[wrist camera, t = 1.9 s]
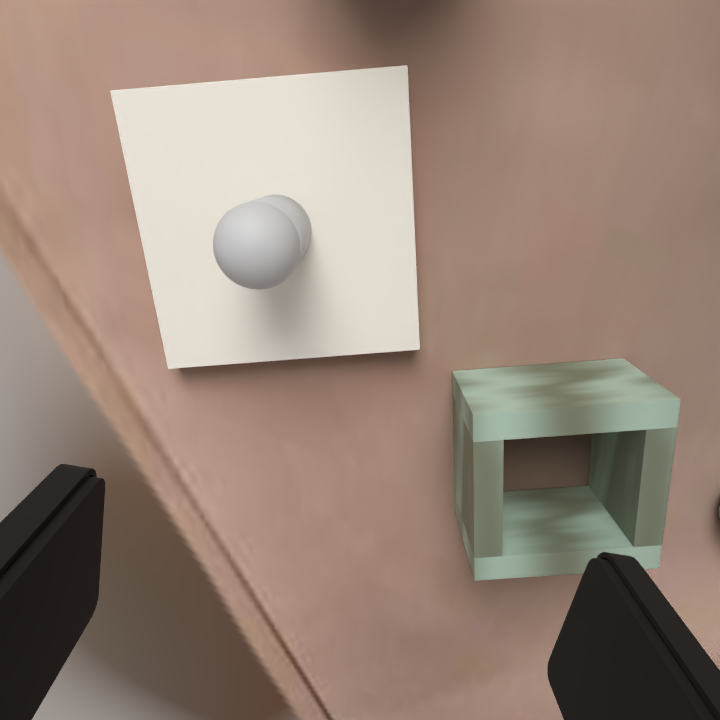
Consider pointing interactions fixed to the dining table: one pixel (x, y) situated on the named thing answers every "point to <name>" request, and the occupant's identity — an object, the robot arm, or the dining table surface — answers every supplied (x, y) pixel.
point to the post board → (289, 157)
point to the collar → (564, 504)
